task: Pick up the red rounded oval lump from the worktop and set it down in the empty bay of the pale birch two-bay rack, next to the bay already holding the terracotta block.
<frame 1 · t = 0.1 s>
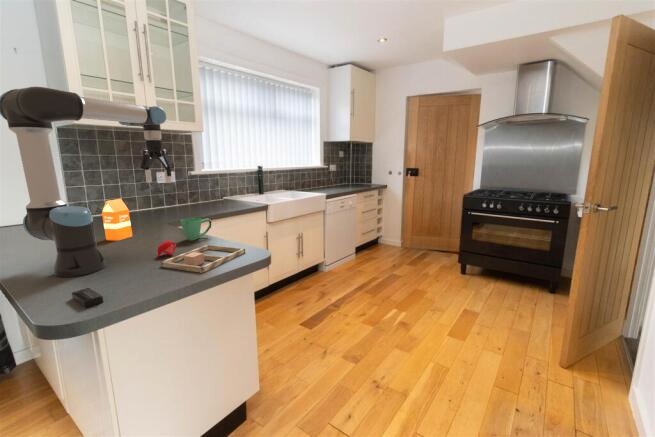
hand: (158, 182, 162), 28 cm above the worktop, tool pointing down, fingers open, 13 cm apart
rack: (205, 259, 127), on the worktop
orange juice: (119, 238, 165), on the worktop
block: (194, 264, 122), on the worktop
multiport hub: (88, 302, 92), on the worktop
red rounded oval lump: (167, 255, 134), on the worktop
mug: (198, 238, 161), on the worktop
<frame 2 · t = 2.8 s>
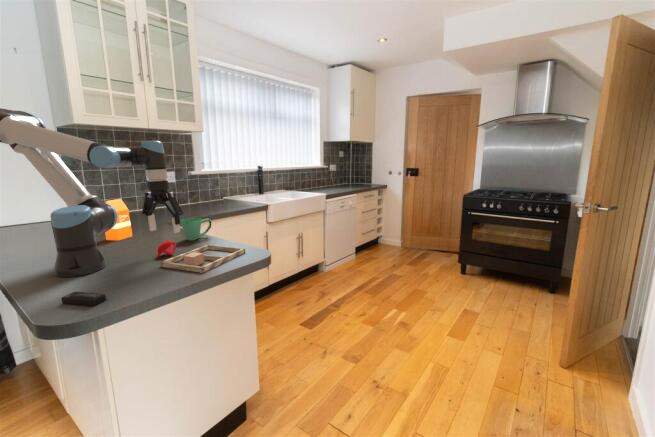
hand: (164, 231, 132), 10 cm above the worktop, tool pointing down, fingers open, 13 cm apart
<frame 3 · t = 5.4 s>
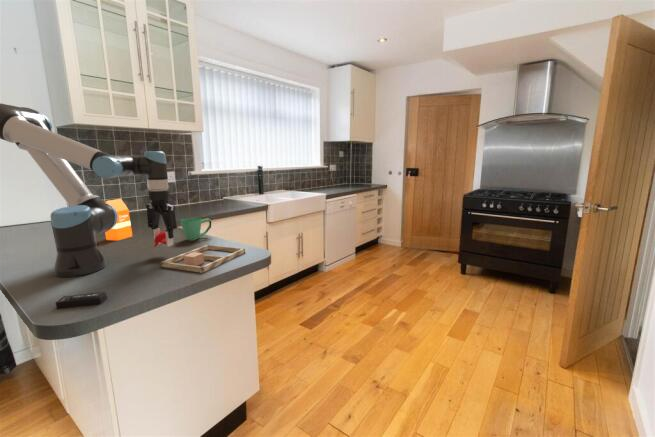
hand: (164, 244, 133), 5 cm above the worktop, tool pointing down, fingers closed on red rounded oval lump, 6 cm apart
red rounded oval lump: (164, 246, 133), point 4 cm above the worktop, touching gripper
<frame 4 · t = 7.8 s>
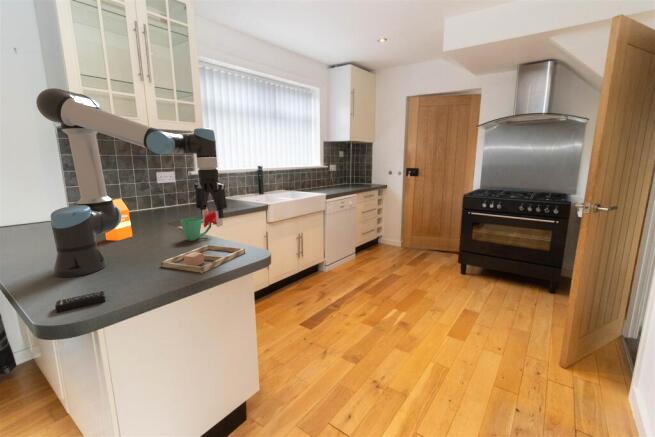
hand: (213, 225, 130), 13 cm above the worktop, tool pointing down, fingers closed on red rounded oval lump, 6 cm apart
red rounded oval lump: (213, 226, 131), point 12 cm above the worktop, touching gripper
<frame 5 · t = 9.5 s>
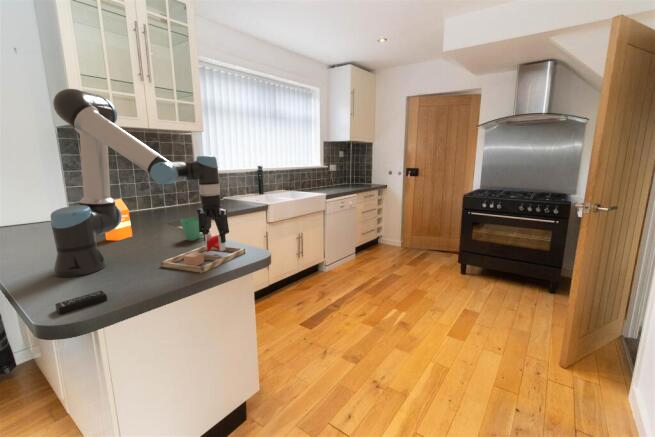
hand: (215, 249, 132), 2 cm above the worktop, tool pointing down, fingers closed on red rounded oval lump, 6 cm apart
red rounded oval lump: (215, 250, 133), point 2 cm above the worktop, touching gripper
when the fingers open (0 cm above the worktop, at t = 10.4 s): red rounded oval lump stays where it is, on the worktop.
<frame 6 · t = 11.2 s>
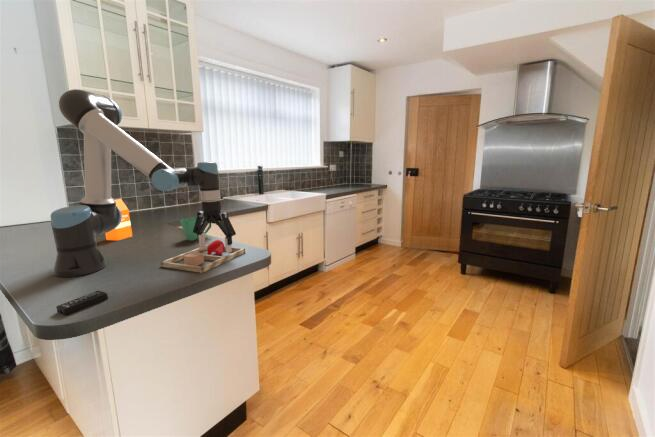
hand: (215, 250, 133), 2 cm above the worktop, tool pointing down, fingers open, 13 cm apart
red rounded oval lump: (216, 255, 133), on the worktop
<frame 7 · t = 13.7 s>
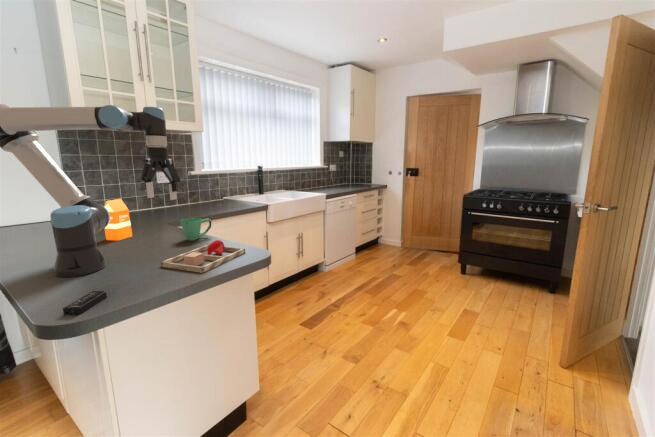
hand: (162, 198, 134), 23 cm above the worktop, tool pointing down, fingers open, 13 cm apart
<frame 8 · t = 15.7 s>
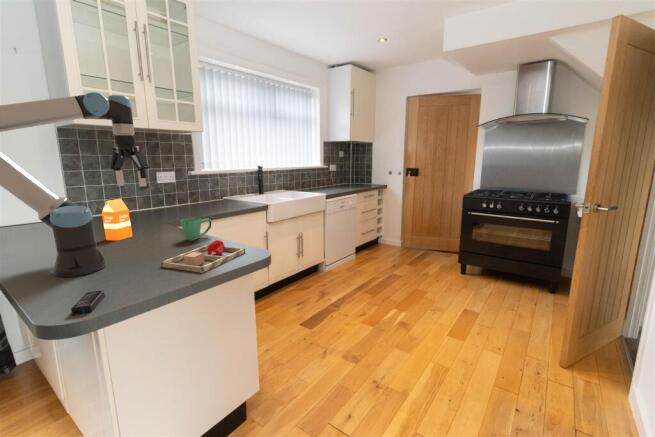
hand: (131, 186, 137), 29 cm above the worktop, tool pointing down, fingers open, 13 cm apart
at the end: red rounded oval lump inside the target area on the rack (0.1 cm from its centre), point 0.0 cm above the rack's base; the gripper is holding nothing; block moved 0.2 cm from its start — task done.
